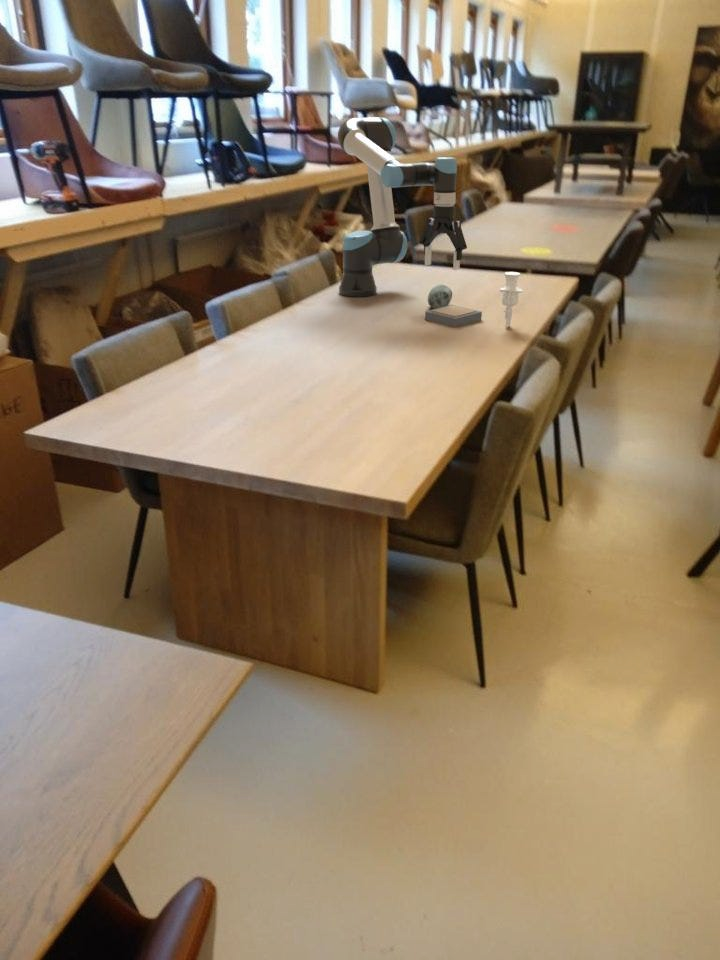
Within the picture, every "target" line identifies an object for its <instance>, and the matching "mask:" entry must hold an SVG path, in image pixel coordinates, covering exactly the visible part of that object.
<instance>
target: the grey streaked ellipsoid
mask: <svg viewBox="0 0 720 960" xmlns="http://www.w3.org/2000/svg"><path fill="white" fill-rule="evenodd" d="M452 298H453V291H452V289H451V288H450V287H449V286H448V285H445V284H437V285H435V286H433V287H432V288H431V290H430V291H429V293H428V295H427V303H428V306H429V307H431V308H432V310H433V309H436V308H440V307H444V306H448V305H450V304H451V301H452Z"/></svg>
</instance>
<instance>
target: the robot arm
mask: <svg viewBox="0 0 720 960" xmlns="http://www.w3.org/2000/svg"><path fill="white" fill-rule="evenodd" d="M396 133H397V132H396V129H395V127H394V124H393V123H392V122H391V121H390V120H389V119H388V118H385V117H378V116H375V117H373V116H372V117H351V118H348V119H346V120H345V121H343V122H342V124H340V126H339V129H338V132H337V142H338V145H339V146H340V148H341V150H342V151H344V152H345V153H346V154H347V155H350V156H355V157H356V158H357V159H359V160H360V161H361V162H362V163H364V164H365V165H366V170H367V179H368V186H369V187H368V188H369V197H370V204H371V213H372V222H373V226H372V227H371V229H370V230H356V231H355V230H354V231H352V232H349V233H347V234H345V235H344V236H343V239H342V264H343V265H342V269H343V270H342V273H343V274H342V277H341V281H340V285H339V286H338V293H339V295H341V296H345V297H346V296H347V297H353V298H362V297H370V296H374V295H377V285H376V282H375V279H374V275H373V265H381V264H382V265H383V264H392V263H397V262H401V261H402V260H403V259H404V257H405V256H406V254H407V250H408V239H407V236H406V234H405V232H403V231H401V230H400V229H401V228H400V225H399V224H397V222H396V221H395V220H396V219H395V218H396V217H395V209H394V199H393V192H392V188H393V189H396V188H405V187H422V186H430V187H431V186H432V187H433V186H434V188H433V189H434V190H433V204H434V206H433V209H432V210H433V214H432V216H433V217H429V218H427V219H426V225H425V227H424V229H423V233H422V235H421V236H420V237H421V238H420V239H419V244H420V245H422V246H423V255H424V266H429V265H432V247H433V246H432V243H433V241H434V240H435V239H436V237H437V236H438V234H441V233H442V234H445V235H447V236H448V238H449V240H450V242H451V243H452V245H453V247H454V250H453V261H452V262H453V265H452V266H453V267H452V270H453V271H457V270H460V269H461V267H460V266H461V260H462V255H463V251H464V250H466V249H468V246H467V242H466V239H465V236H464V232H463V229H462V221H461V220H456V221H454V217H455V216H456V207H455V204H456V199H457V198H456V194H457V193H456V191H457V175H458V167H457V166H458V162H457V161H458V160H457V159H456V158H455V157H448V156H447V157H445V156H443V157H436V158H435V160H434V161H435V162H428V161H421V162H412V163H411V162H409V163H404V162H403V163H402V162H401V161H399V160H398V159H397V158H395V157H393V156H392V150H393V148H394V147H395V145H396V140H397V135H396Z"/></svg>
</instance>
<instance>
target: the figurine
mask: <svg viewBox="0 0 720 960" xmlns="http://www.w3.org/2000/svg"><path fill="white" fill-rule="evenodd" d="M520 275H521V272H517V271H505V272H504V276H505V284H504V285H505V286H502V287H500V288H499V289H498V291H499V292H500V293H502V297H501V299H500V301H501V304H502V305H503V306H505V307H506V308H505V310H504V311H503V312H504V319H505V325H504V327H506V328H509V327H510V325H511V321H512V317H513V307H515V306H516V305H517V304H518V303H519V301H520V300H519V295H518V294H521V293H523V289H522V288H521V287H518V281H519V277H520Z"/></svg>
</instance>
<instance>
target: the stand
mask: <svg viewBox="0 0 720 960" xmlns="http://www.w3.org/2000/svg"><path fill="white" fill-rule="evenodd" d="M482 314H483V311H480V310H476V309H473V308H472V309H471V308H467V307H463V306H458V305H453V304H449V305H448V306H444V307H440V308H436V309H433V308H432V309H429V310H426V311H424V320H425V321H428V322H432V323H436V324H439V325H444V326H448V327H449V326H450V327H453V328H458V327H461V326H466V325H468V324H472V323H476V322H479V321H482Z"/></svg>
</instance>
